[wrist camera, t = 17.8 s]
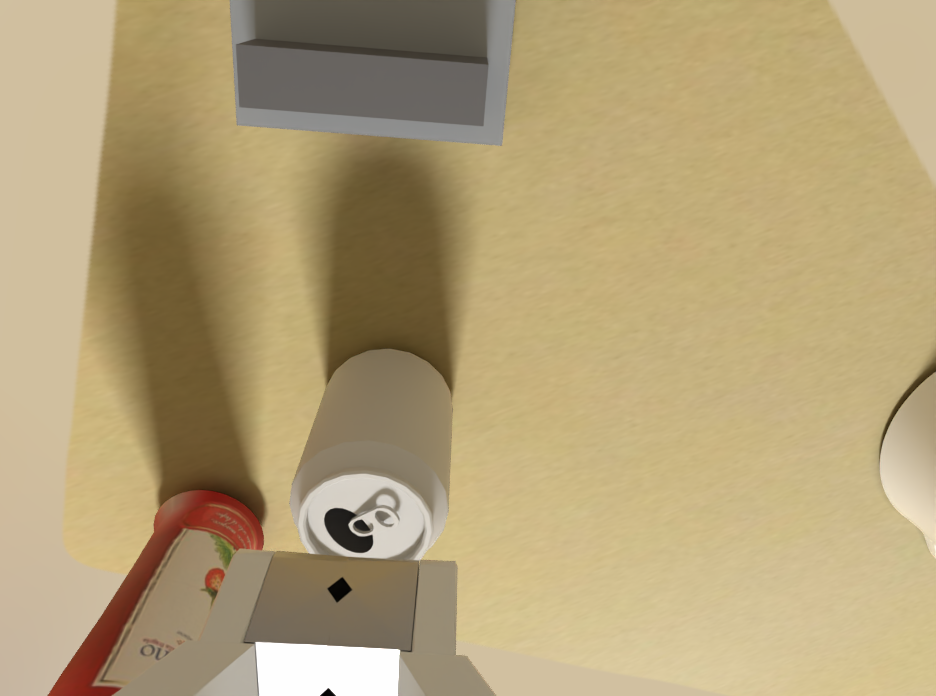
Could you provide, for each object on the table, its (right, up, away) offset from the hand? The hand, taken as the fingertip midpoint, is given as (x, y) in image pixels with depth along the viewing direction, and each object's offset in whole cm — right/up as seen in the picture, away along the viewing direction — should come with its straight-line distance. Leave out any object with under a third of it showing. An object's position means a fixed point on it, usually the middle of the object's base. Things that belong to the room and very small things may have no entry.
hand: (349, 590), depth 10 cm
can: (-3, 0, +35) cm, 35 cm away
